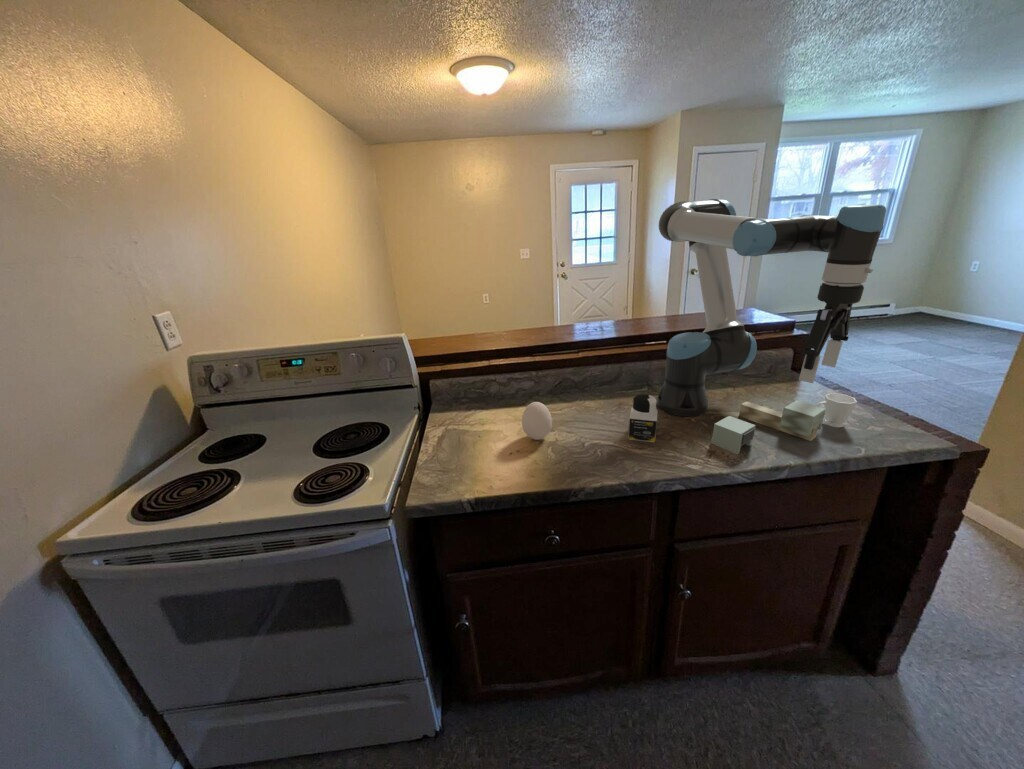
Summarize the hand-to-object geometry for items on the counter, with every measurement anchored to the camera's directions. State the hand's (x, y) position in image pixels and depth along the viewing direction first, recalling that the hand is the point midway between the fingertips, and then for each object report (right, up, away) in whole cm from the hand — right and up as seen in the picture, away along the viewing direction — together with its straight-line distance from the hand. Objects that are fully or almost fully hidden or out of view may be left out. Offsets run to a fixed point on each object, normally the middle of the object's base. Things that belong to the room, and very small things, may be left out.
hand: (817, 373), depth 95 cm
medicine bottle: (-36, -17, +19) cm, 44 cm away
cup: (+17, -14, +18) cm, 28 cm away
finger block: (-14, -19, +12) cm, 26 cm away
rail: (+2, -15, +19) cm, 24 cm away
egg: (-66, -18, +21) cm, 71 cm away
